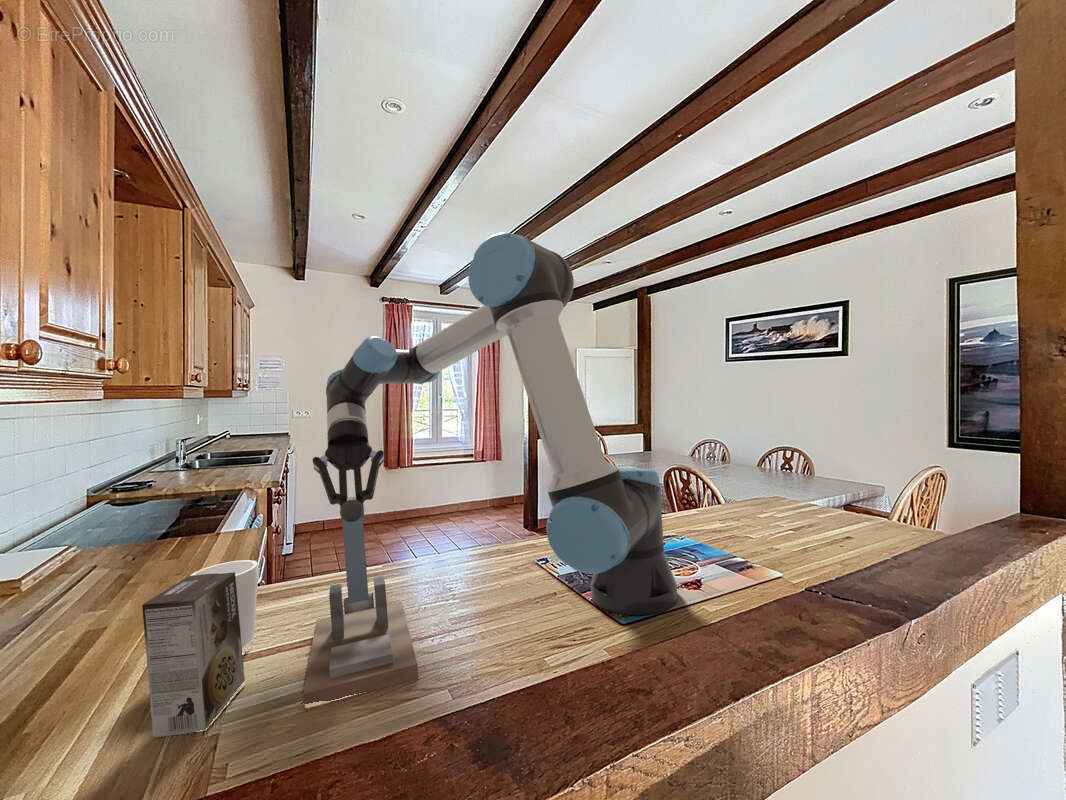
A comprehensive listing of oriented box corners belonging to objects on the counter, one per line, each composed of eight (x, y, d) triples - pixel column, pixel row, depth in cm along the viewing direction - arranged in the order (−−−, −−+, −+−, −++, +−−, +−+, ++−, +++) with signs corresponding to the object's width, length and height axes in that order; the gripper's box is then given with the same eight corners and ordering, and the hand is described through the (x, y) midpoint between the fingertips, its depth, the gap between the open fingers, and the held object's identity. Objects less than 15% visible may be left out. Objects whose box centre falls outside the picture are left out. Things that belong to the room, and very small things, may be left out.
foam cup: (229, 670, 69) (223, 583, 69) (178, 667, 71) (171, 582, 71) (277, 637, 79) (271, 559, 78) (230, 635, 80) (224, 559, 80)
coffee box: (197, 691, 65) (188, 574, 64) (246, 686, 65) (237, 570, 65) (149, 739, 56) (138, 603, 55) (207, 732, 56) (196, 598, 56)
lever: (345, 609, 76) (336, 500, 76) (373, 603, 78) (365, 496, 78) (344, 618, 73) (336, 504, 73) (374, 612, 75) (366, 500, 74)
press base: (317, 631, 80) (313, 578, 80) (402, 612, 85) (398, 562, 84) (304, 709, 59) (298, 638, 59) (418, 678, 64) (413, 612, 64)
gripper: (381, 439, 100) (393, 538, 85) (314, 446, 95) (313, 552, 80) (381, 415, 95) (393, 515, 80) (310, 421, 90) (308, 528, 75)
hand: (353, 533), depth 80 cm, fingers closed
